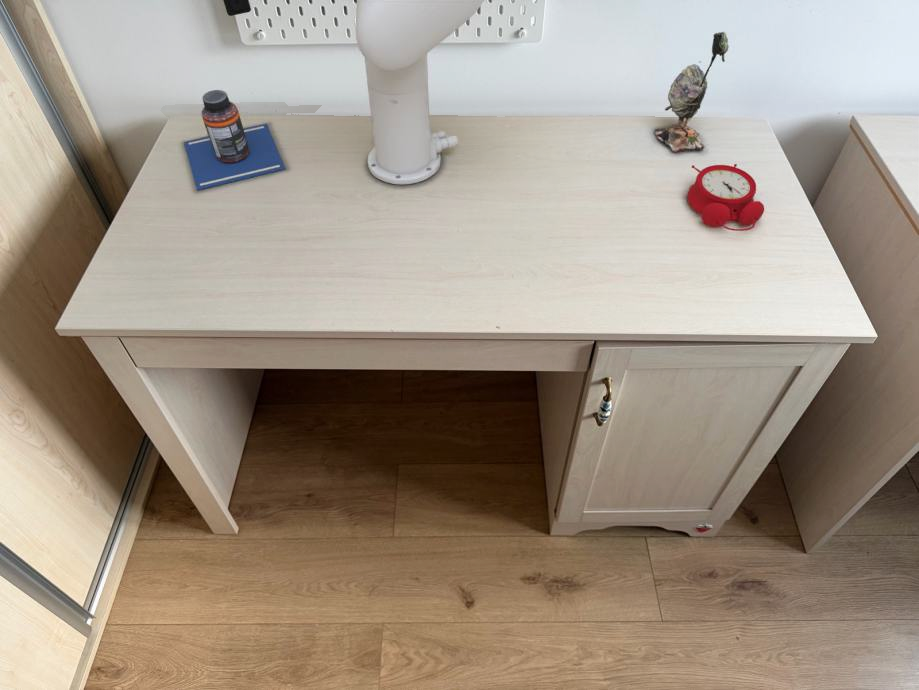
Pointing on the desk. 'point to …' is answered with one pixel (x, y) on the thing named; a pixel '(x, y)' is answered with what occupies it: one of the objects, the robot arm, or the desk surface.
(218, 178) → the napkin
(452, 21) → the robot arm
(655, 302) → the desk surface
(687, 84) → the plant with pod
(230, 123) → the supplement bottle
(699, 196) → the alarm clock
